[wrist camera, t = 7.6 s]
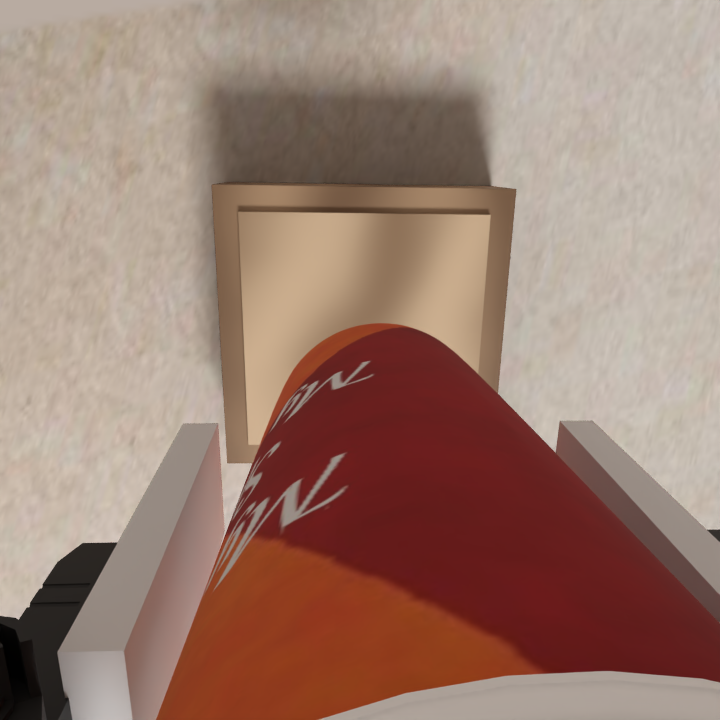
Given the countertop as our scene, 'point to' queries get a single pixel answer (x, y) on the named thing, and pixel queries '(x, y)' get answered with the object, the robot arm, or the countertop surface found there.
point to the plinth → (351, 278)
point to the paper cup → (430, 565)
